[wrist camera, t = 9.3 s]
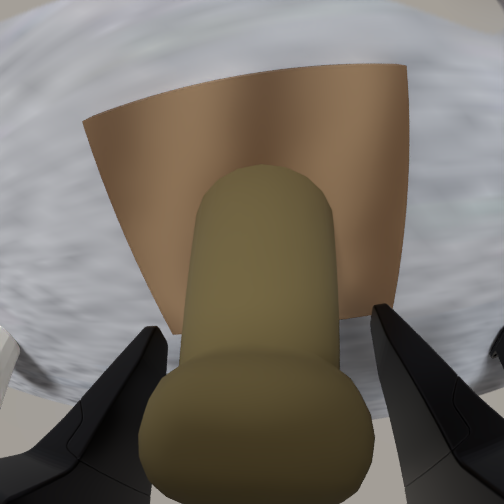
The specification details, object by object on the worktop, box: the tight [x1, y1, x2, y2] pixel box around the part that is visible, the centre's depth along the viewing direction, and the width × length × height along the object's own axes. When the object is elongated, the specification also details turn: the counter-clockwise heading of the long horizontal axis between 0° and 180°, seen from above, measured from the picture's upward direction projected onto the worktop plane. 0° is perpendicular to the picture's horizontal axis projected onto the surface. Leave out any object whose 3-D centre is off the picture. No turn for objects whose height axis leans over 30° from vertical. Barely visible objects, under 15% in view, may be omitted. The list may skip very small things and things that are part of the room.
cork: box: [138, 164, 375, 504], centre depth 9 cm, size 6×6×11 cm
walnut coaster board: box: [82, 64, 409, 335], centre depth 14 cm, size 13×13×1 cm
